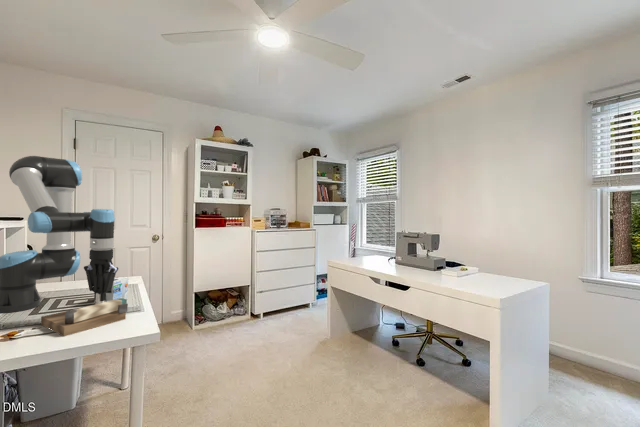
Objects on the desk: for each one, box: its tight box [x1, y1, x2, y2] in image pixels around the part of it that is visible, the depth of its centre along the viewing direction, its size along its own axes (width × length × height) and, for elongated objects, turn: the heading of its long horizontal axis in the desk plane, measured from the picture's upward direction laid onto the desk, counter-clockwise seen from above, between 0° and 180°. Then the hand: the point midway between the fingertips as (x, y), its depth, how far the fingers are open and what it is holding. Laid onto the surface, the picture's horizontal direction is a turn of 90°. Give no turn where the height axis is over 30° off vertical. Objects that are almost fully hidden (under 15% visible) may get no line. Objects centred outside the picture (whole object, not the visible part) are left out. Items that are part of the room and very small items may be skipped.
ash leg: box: [64, 298, 128, 324], centre depth 116 cm, size 21×4×4 cm, turn 157°
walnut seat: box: [40, 302, 128, 337], centre depth 117 cm, size 18×20×6 cm
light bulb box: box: [104, 276, 129, 302], centre depth 141 cm, size 11×7×11 cm, turn 179°
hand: (99, 309), depth 120 cm, fingers closed
